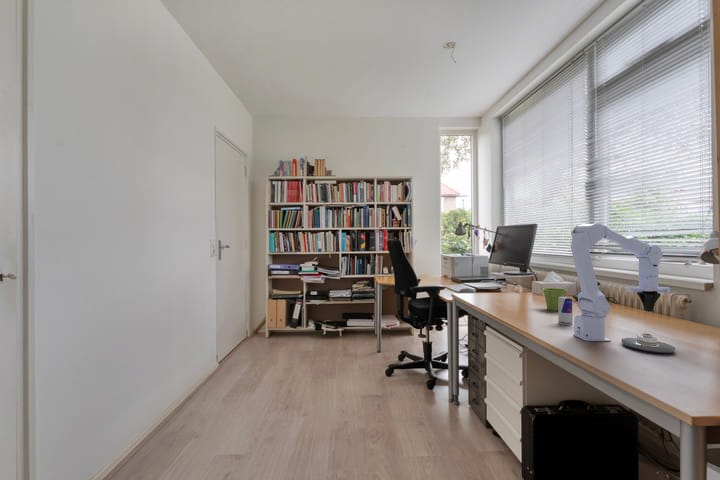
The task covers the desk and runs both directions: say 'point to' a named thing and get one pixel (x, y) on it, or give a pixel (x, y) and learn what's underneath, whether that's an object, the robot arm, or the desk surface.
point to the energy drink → (565, 310)
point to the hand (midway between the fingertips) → (648, 310)
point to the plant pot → (553, 297)
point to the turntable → (659, 348)
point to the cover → (647, 339)
